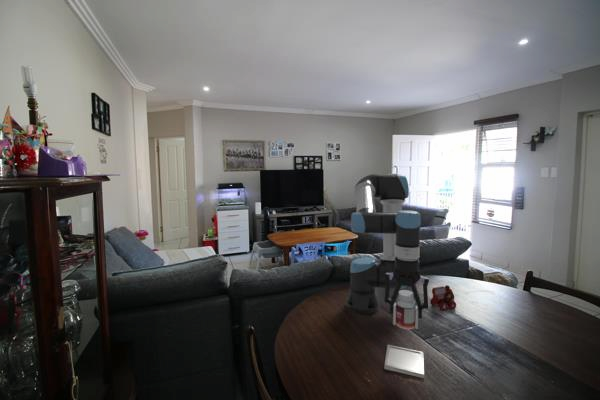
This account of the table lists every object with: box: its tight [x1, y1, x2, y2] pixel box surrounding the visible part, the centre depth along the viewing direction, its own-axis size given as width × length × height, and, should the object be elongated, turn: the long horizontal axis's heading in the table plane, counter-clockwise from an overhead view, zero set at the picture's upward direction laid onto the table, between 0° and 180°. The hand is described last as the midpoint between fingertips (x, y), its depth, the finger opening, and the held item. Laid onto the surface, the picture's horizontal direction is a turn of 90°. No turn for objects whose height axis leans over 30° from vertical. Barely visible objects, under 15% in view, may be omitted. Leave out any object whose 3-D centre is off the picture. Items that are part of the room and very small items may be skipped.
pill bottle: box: [395, 289, 417, 330], centre depth 94 cm, size 6×6×11 cm
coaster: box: [383, 344, 425, 379], centre depth 96 cm, size 12×12×1 cm
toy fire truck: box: [429, 284, 457, 312], centre depth 134 cm, size 7×12×10 cm, turn 108°
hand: (405, 324), depth 95 cm, fingers closed on pill bottle, 6 cm apart
